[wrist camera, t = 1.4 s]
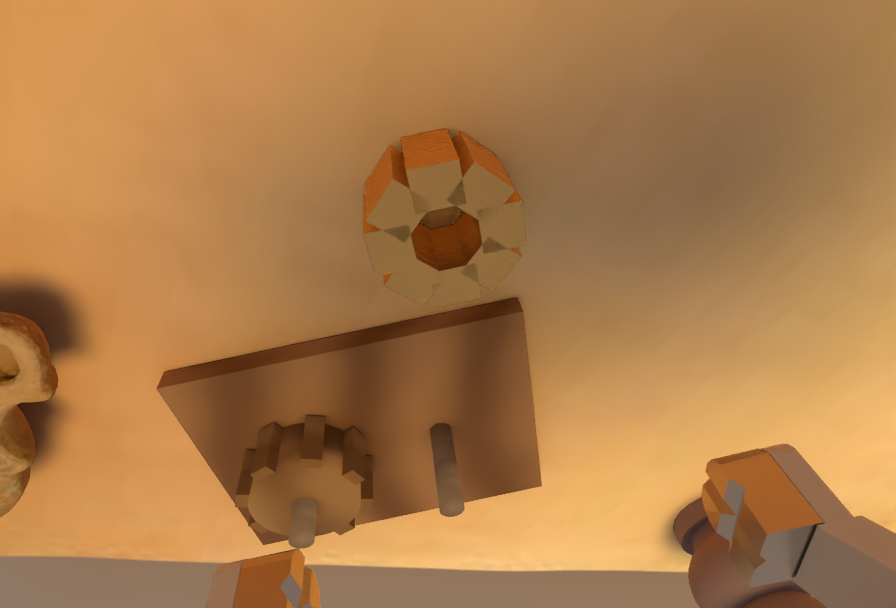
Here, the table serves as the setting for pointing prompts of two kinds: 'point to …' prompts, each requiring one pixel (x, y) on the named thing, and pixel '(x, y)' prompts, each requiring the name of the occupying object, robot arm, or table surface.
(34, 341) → the oil lamp
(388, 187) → the brass gear
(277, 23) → the table surface
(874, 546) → the robot arm
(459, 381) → the gear board
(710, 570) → the turned wooden finial
